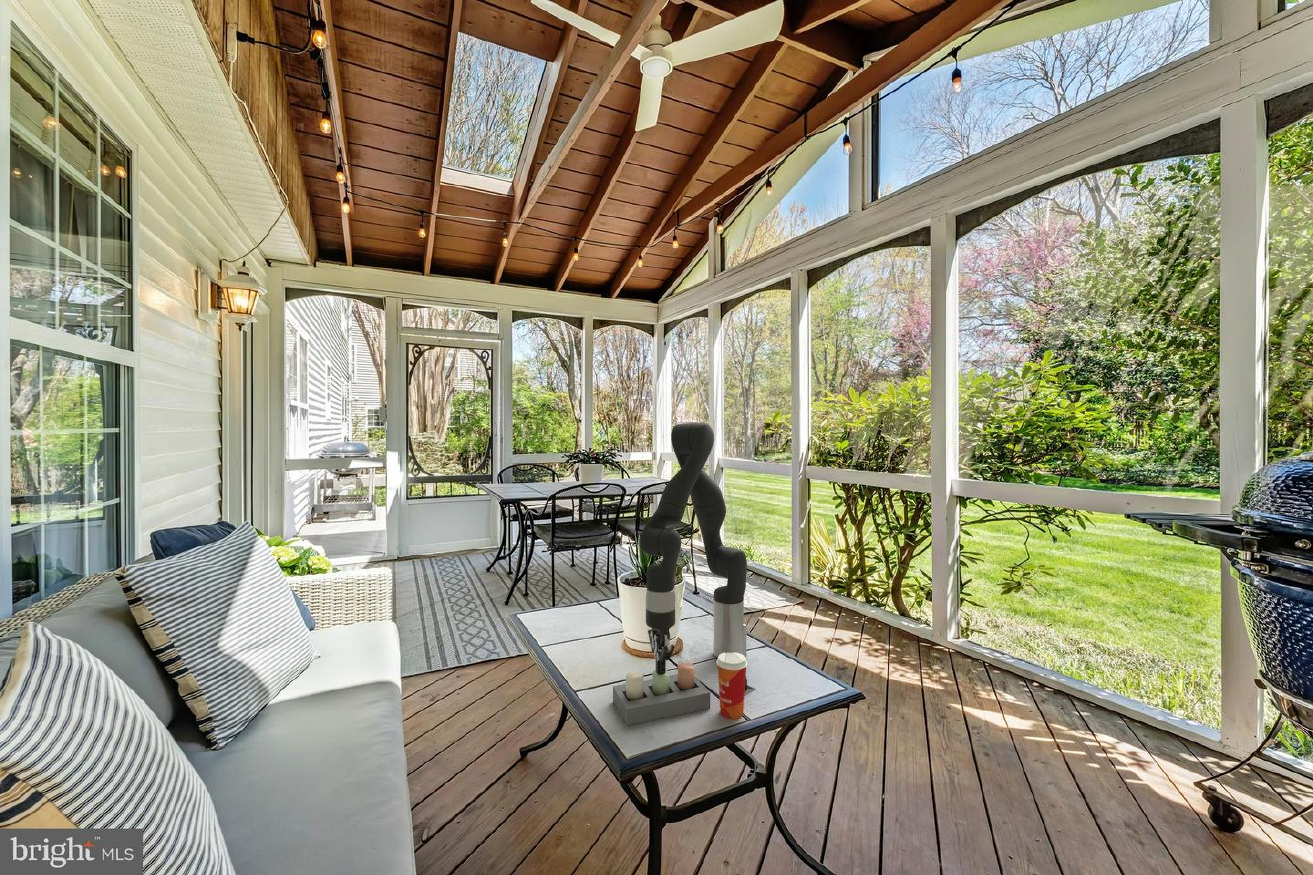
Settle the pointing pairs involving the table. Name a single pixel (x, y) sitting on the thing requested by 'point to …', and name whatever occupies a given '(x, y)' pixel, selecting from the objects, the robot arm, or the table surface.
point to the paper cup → (731, 683)
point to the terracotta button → (686, 676)
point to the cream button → (634, 685)
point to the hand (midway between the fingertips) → (660, 673)
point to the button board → (660, 702)
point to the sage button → (660, 683)
